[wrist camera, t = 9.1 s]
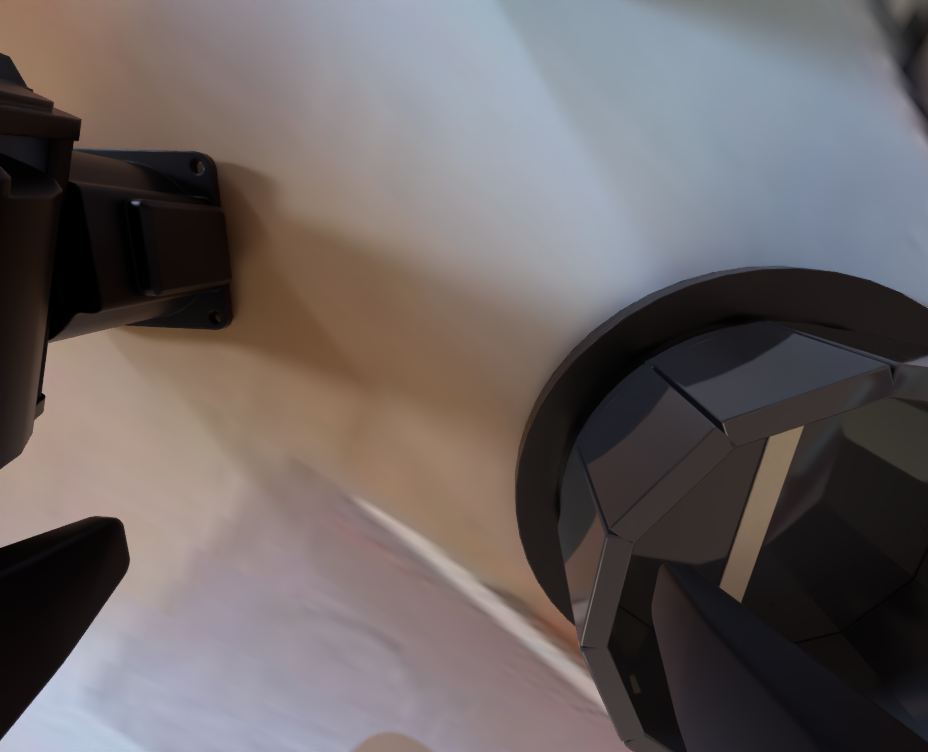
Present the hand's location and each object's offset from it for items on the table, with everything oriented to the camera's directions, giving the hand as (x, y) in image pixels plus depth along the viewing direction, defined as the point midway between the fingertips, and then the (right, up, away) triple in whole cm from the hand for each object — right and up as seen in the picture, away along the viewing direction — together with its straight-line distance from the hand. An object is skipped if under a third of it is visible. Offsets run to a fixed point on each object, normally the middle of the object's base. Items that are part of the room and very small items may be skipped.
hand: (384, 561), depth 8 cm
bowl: (+12, -3, +11) cm, 17 cm away
